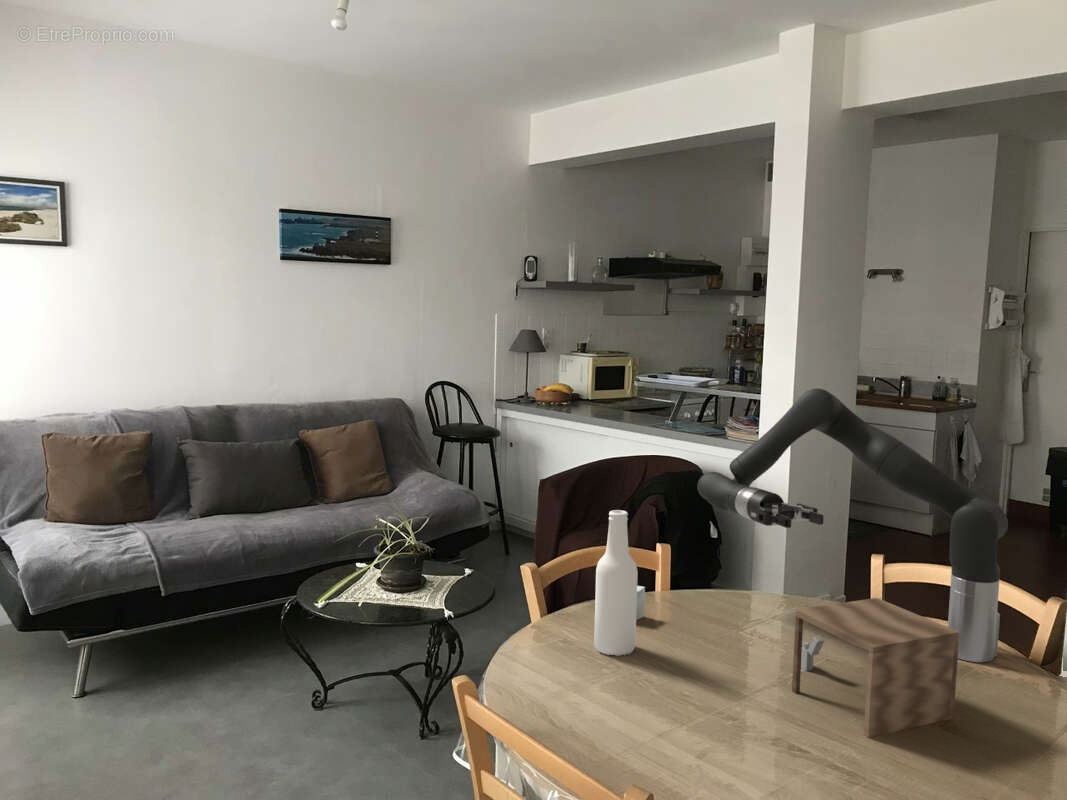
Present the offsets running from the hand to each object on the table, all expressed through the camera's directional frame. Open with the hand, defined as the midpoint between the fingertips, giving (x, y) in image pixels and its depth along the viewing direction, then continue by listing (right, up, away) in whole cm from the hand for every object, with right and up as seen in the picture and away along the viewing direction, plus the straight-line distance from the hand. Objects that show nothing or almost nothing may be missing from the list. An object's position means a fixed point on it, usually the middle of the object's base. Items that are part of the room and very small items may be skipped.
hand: (806, 521), depth 193 cm
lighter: (-2, -29, -8) cm, 31 cm away
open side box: (+5, -31, -24) cm, 39 cm away
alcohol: (-41, -28, +1) cm, 49 cm away
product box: (-36, -26, +20) cm, 49 cm away
